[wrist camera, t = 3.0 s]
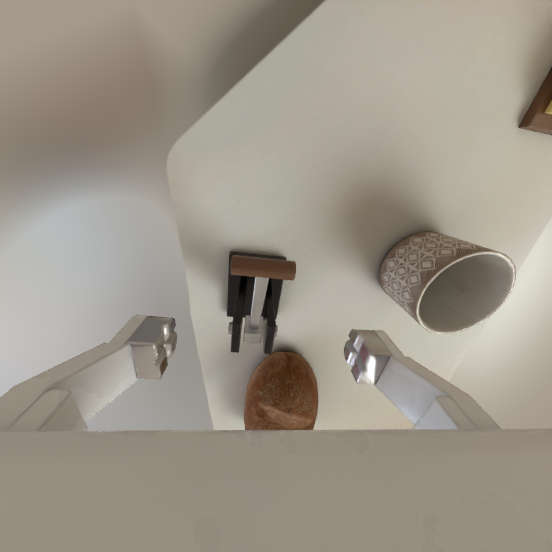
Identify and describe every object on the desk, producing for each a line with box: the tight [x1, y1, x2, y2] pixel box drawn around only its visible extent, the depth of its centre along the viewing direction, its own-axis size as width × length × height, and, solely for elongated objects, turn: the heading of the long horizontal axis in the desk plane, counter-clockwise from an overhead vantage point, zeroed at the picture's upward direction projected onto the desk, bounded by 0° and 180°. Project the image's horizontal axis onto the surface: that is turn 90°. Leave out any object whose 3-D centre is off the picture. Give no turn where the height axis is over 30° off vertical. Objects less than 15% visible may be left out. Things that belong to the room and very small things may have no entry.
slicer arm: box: [231, 255, 296, 343], centre depth 21 cm, size 14×5×2 cm, turn 172°
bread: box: [244, 352, 318, 430], centre depth 43 cm, size 16×29×11 cm, turn 174°
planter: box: [380, 232, 516, 334], centre depth 31 cm, size 13×13×10 cm
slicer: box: [227, 252, 286, 354], centre depth 29 cm, size 12×9×13 cm
